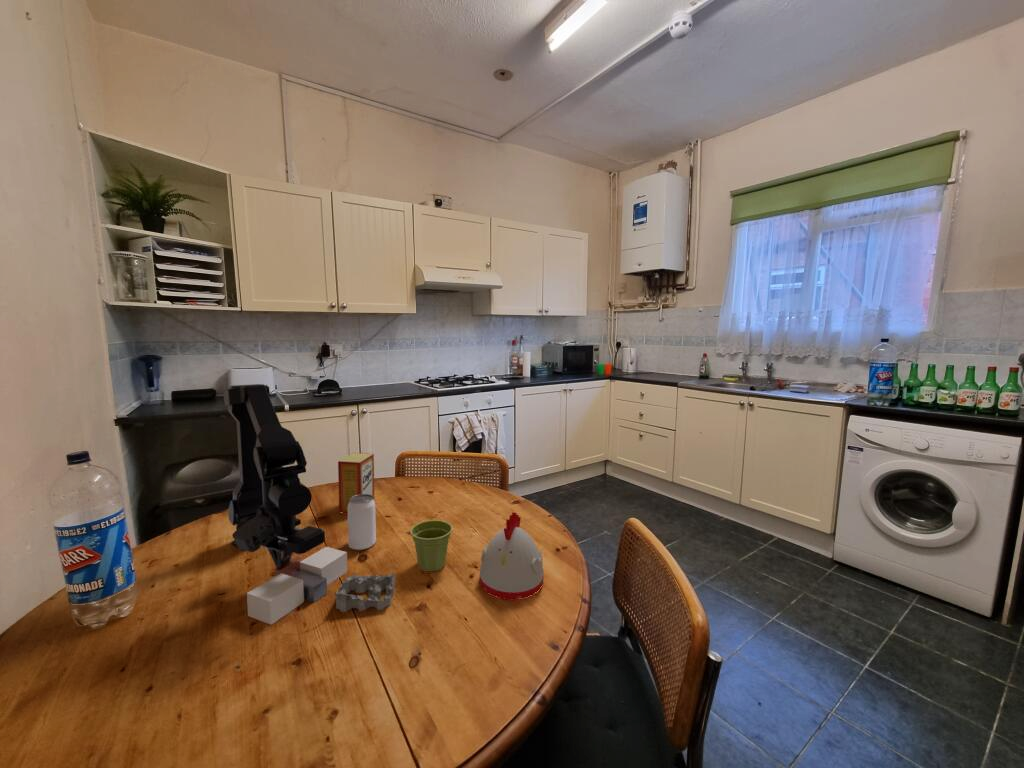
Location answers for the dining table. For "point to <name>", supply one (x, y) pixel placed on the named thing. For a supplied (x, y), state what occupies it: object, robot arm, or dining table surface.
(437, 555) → the plant pot
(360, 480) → the baking soda box
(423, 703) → the dining table surface
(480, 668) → the dining table surface
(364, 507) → the can
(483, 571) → the kitchen timer
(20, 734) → the dining table surface
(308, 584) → the l-shaped block
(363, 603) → the egg carton
